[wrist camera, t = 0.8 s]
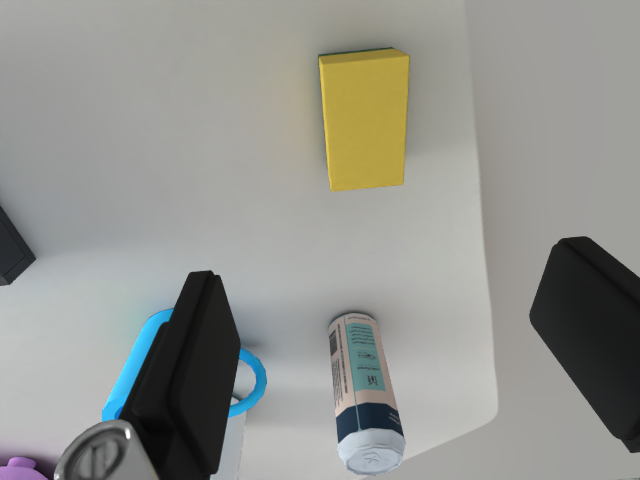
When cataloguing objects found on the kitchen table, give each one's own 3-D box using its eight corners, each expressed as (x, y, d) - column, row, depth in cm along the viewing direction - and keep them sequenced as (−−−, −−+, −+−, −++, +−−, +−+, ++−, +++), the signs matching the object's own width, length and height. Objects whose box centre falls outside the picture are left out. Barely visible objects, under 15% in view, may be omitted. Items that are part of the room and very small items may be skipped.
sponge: (318, 54, 21) (321, 64, 17) (392, 47, 21) (410, 54, 17) (327, 166, 24) (331, 192, 21) (389, 160, 24) (403, 185, 21)
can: (259, 402, 40) (245, 534, 30) (226, 429, 43) (204, 557, 33) (204, 380, 37) (168, 517, 27) (173, 410, 40) (130, 544, 30)
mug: (146, 362, 35) (109, 447, 28) (139, 303, 31) (93, 387, 24) (265, 371, 37) (257, 454, 30) (275, 317, 32) (268, 400, 26)
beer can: (338, 349, 35) (353, 483, 25) (319, 319, 33) (327, 456, 23) (383, 334, 34) (417, 468, 25) (368, 302, 32) (398, 437, 22)
